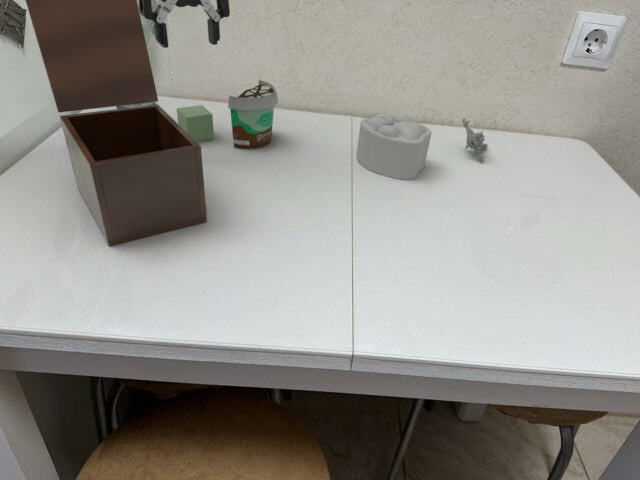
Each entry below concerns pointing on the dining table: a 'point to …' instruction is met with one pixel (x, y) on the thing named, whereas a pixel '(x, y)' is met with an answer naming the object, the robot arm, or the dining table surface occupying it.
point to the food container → (253, 116)
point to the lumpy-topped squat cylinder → (393, 146)
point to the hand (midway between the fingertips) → (189, 45)
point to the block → (196, 122)
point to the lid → (93, 52)
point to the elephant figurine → (475, 140)
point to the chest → (136, 171)
